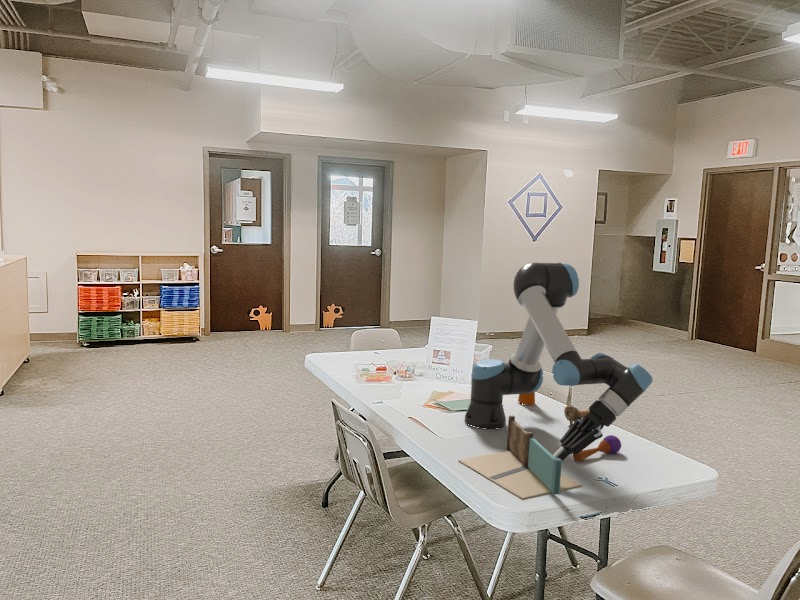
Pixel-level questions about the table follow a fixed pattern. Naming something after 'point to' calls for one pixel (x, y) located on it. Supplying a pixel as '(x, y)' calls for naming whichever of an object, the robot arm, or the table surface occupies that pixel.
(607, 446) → the purple and orange maraca
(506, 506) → the table surface
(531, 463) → the fence gate
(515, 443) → the fence frame
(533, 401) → the spray bottle
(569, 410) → the lion figurine
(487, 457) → the mat
